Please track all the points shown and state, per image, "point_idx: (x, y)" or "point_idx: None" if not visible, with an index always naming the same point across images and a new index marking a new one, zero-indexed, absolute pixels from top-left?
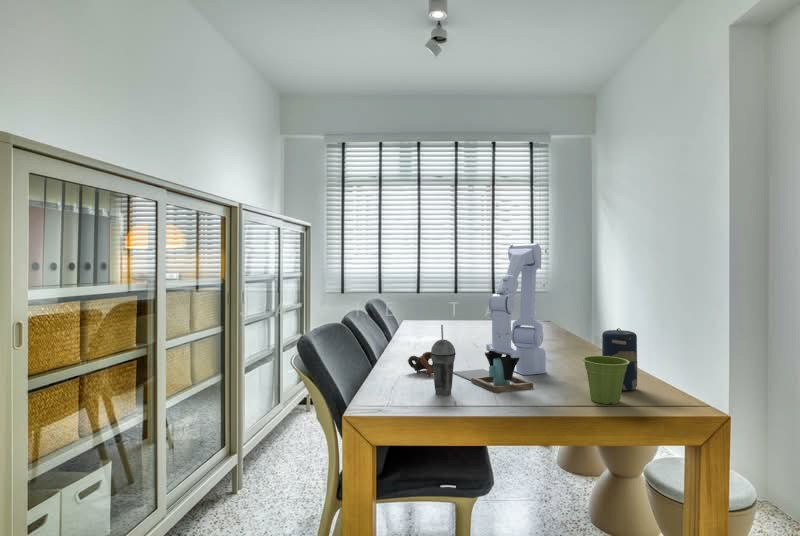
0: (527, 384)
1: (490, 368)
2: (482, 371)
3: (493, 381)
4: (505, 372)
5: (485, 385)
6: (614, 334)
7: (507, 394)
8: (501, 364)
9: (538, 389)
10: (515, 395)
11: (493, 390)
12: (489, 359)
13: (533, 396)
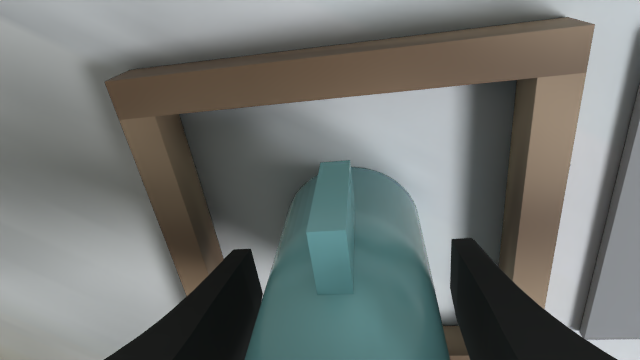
0: None
1: (313, 216)
2: None
3: (382, 188)
4: (190, 294)
5: (278, 57)
6: None
7: (75, 140)
8: (248, 356)
9: None
10: (49, 178)
11: (145, 70)
12: (533, 356)
13: (32, 262)
